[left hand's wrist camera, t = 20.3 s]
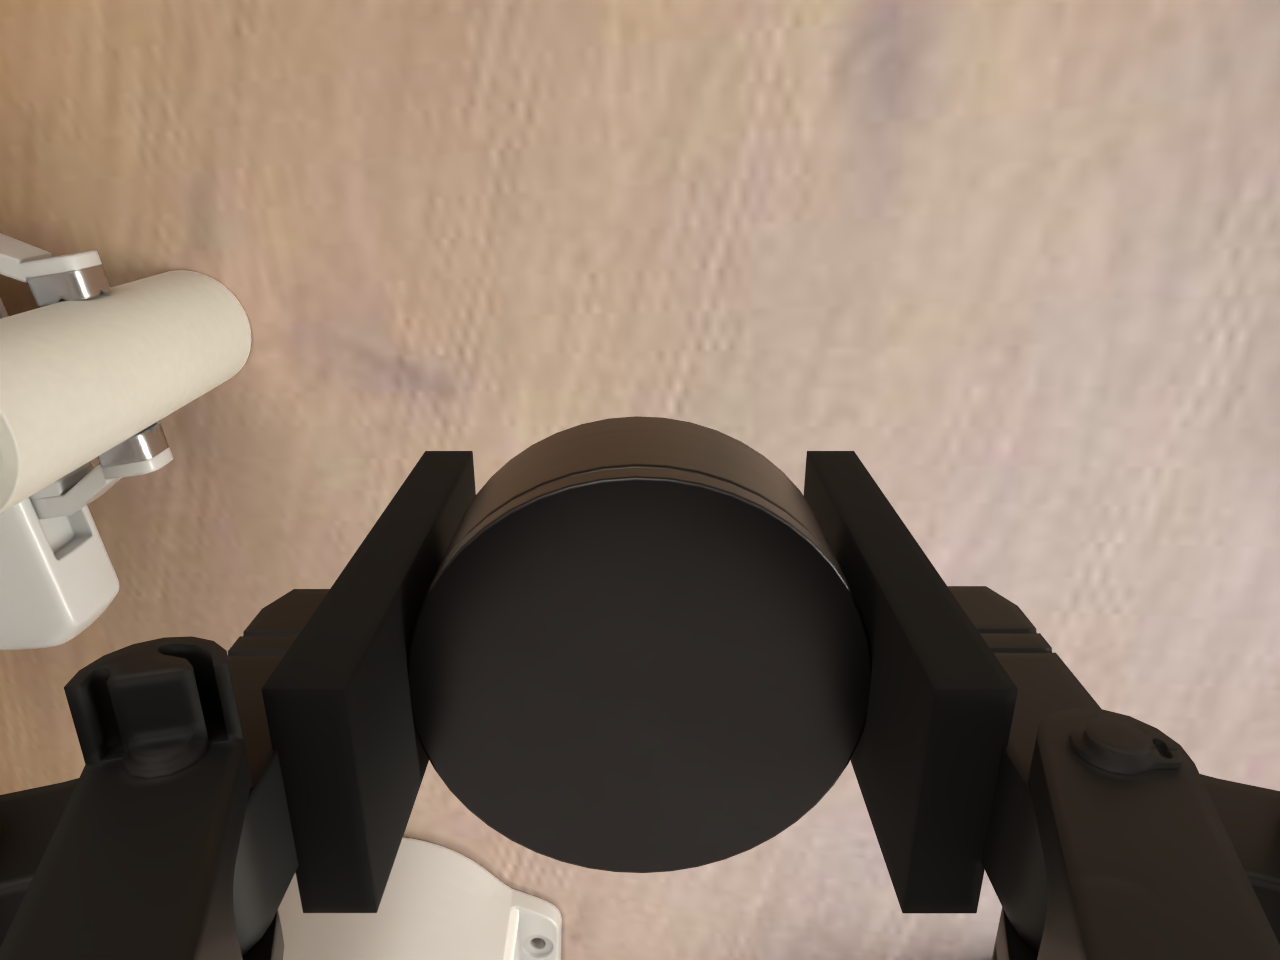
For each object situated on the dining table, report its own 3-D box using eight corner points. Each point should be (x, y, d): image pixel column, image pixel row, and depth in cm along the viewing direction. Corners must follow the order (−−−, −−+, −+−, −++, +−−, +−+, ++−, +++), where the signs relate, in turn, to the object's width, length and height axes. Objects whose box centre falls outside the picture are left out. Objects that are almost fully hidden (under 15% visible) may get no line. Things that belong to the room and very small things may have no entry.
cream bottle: (241, 400, 38) (-41, 586, 22) (125, 364, 38) (-248, 528, 22) (261, 293, 36) (-29, 411, 21) (141, 252, 36) (-253, 343, 20)
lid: (675, 330, 11) (682, 375, 9) (907, 627, 12) (963, 726, 10) (365, 572, 12) (306, 662, 10) (611, 815, 14) (606, 938, 12)
